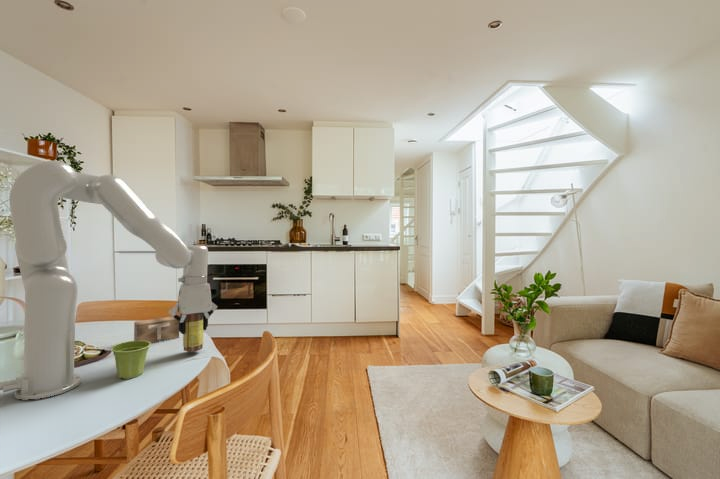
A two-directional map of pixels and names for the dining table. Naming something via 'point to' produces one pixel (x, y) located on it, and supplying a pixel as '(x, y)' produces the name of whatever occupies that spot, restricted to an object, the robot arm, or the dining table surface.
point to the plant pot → (130, 358)
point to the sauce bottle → (193, 332)
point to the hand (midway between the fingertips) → (193, 330)
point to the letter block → (156, 329)
